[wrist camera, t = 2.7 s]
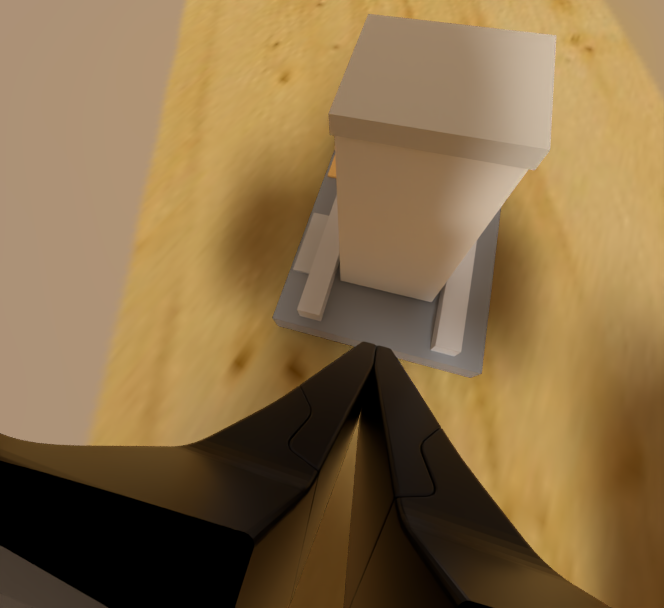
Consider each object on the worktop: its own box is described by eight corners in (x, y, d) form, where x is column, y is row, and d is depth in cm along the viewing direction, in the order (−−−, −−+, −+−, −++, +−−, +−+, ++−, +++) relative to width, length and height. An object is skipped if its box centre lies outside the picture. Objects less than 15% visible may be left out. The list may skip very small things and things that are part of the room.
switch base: (470, 377, 16) (495, 369, 14) (278, 325, 18) (265, 308, 15) (498, 155, 22) (521, 116, 19) (348, 130, 23) (348, 90, 20)
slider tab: (432, 304, 16) (550, 149, 7) (338, 281, 17) (328, 113, 8) (445, 238, 17) (556, 35, 8) (357, 219, 18) (368, 13, 9)
